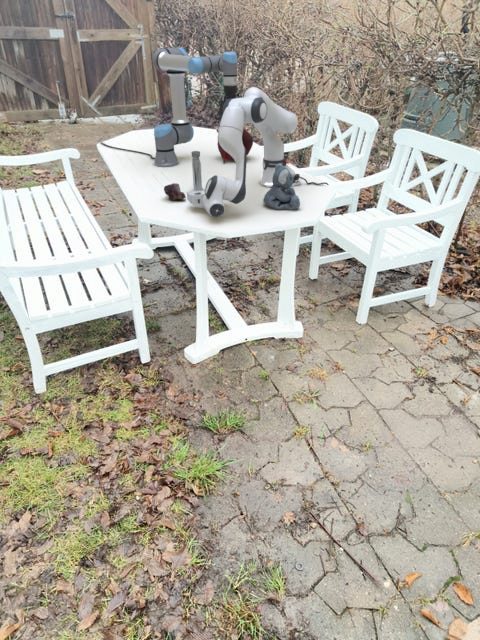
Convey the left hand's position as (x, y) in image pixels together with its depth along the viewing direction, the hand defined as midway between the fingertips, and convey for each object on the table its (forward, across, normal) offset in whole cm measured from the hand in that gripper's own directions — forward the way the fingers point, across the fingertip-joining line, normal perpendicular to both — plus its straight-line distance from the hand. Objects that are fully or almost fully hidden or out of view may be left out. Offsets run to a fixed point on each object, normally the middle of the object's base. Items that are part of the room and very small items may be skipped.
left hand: (231, 126), depth 257 cm
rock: (+28, -52, 0) cm, 58 cm away
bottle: (+28, -34, -1) cm, 44 cm away
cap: (+7, -34, -1) cm, 34 cm away
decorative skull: (+28, +31, +20) cm, 46 cm away
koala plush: (+28, -28, -51) cm, 64 cm away
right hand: (+21, -46, -16) cm, 53 cm away
